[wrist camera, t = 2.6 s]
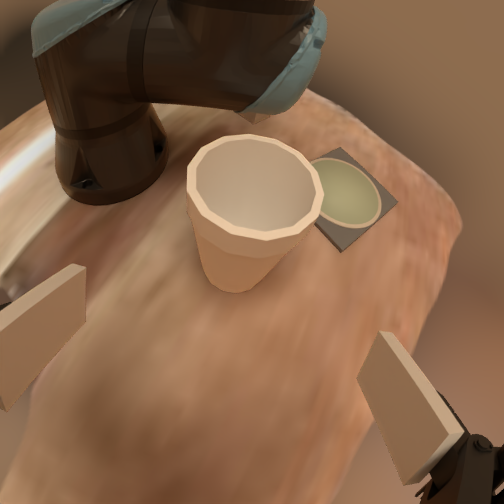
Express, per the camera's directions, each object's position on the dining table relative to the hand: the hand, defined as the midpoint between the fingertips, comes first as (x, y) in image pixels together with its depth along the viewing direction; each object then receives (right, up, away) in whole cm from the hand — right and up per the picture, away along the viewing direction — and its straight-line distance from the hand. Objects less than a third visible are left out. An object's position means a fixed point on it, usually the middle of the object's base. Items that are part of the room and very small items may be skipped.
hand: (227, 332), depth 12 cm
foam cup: (-1, +2, +19) cm, 19 cm away
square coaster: (+13, +11, +27) cm, 31 cm away
